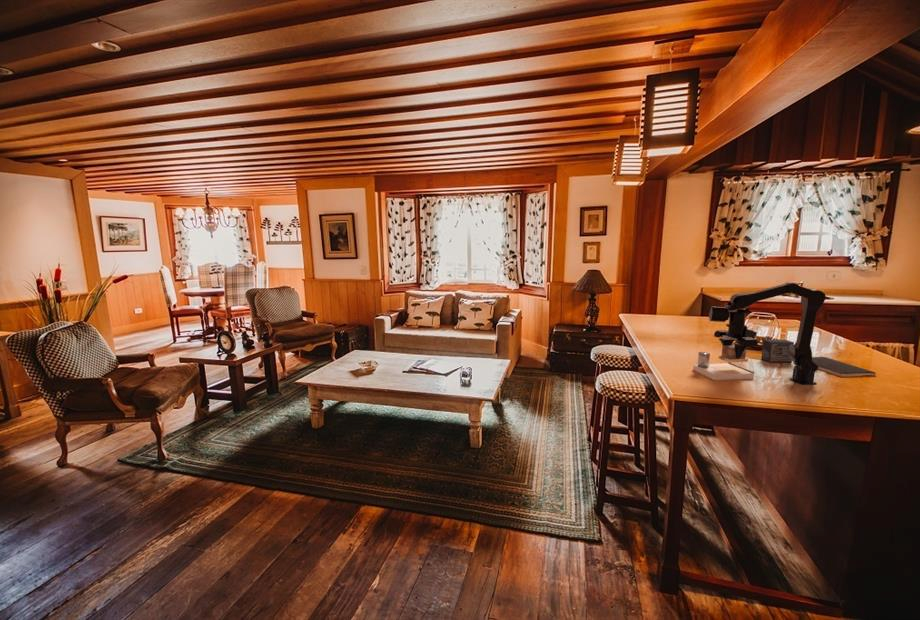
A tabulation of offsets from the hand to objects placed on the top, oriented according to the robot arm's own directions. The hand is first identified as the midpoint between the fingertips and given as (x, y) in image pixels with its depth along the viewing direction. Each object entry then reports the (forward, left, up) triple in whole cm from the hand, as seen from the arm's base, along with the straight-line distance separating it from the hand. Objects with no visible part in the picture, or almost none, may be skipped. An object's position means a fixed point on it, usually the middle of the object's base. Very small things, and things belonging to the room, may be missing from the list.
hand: (733, 356), depth 172 cm
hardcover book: (+4, -53, -9) cm, 54 cm away
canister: (+6, +10, -6) cm, 13 cm away
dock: (+2, +3, -9) cm, 9 cm away
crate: (0, 0, -2) cm, 2 cm away
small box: (+17, -37, -9) cm, 41 cm away
